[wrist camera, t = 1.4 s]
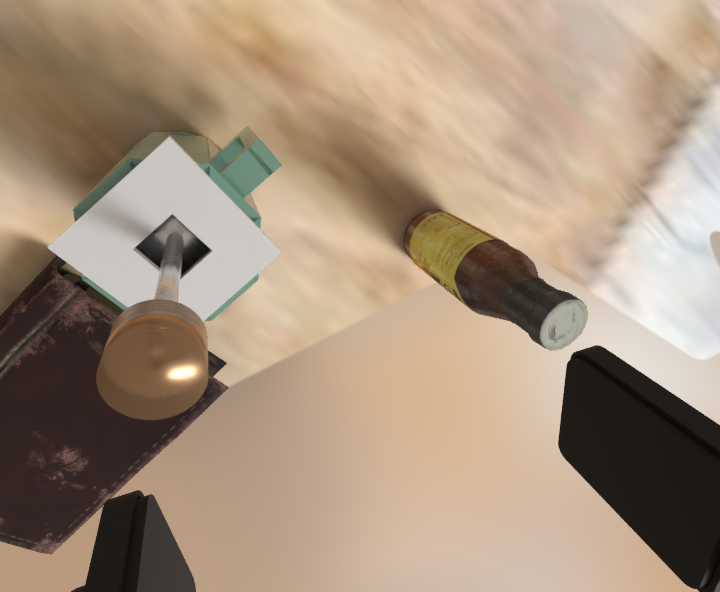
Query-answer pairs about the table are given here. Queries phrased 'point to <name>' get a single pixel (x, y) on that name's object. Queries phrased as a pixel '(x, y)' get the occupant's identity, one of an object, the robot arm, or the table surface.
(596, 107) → the table surface
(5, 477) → the diary
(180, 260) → the plunger
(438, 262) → the sauce bottle
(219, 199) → the press carafe
